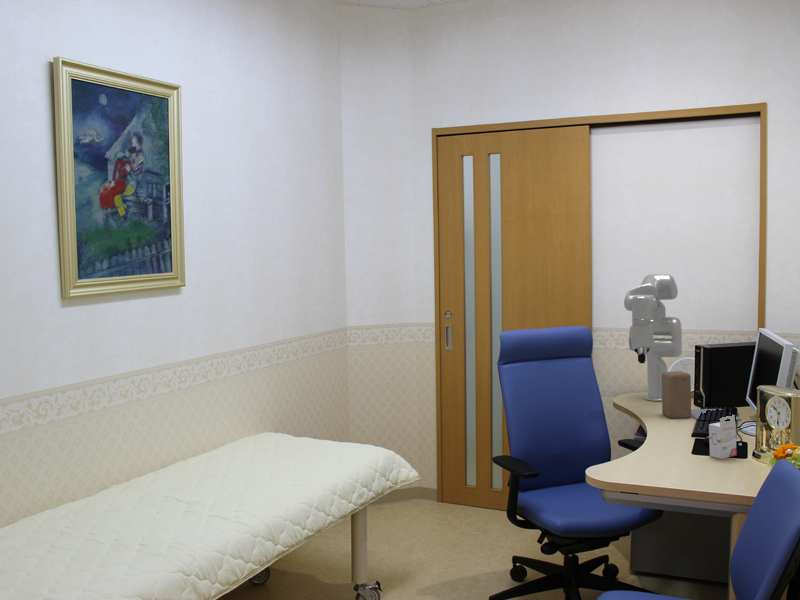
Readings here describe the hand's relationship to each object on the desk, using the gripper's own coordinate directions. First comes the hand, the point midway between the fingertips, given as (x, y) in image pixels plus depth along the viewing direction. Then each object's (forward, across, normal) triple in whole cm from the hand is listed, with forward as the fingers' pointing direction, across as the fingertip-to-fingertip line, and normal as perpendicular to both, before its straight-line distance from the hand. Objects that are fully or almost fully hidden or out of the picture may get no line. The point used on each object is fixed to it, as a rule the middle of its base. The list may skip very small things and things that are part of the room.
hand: (641, 363), depth 305 cm
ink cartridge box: (+25, -9, +66) cm, 71 cm away
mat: (+25, -30, 0) cm, 39 cm away
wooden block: (+25, -15, 0) cm, 29 cm away
